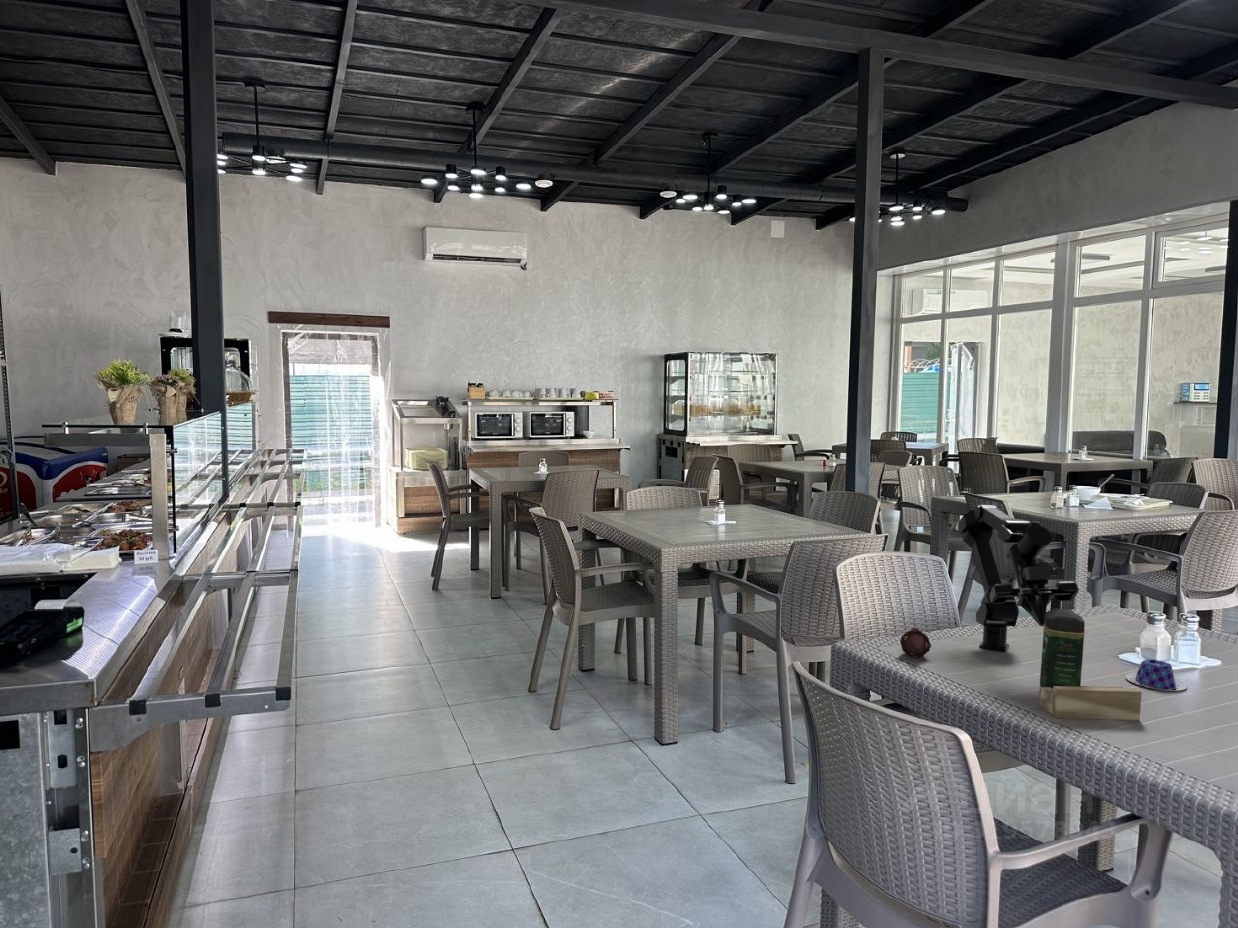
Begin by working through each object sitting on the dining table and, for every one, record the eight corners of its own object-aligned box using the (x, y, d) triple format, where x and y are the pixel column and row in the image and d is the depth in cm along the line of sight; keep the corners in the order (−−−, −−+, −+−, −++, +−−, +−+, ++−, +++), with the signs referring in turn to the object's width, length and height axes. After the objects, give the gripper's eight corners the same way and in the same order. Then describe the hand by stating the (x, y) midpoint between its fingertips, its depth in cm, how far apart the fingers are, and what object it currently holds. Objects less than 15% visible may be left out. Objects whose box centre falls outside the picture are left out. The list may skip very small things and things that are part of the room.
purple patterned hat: (1127, 672, 202) (1128, 651, 202) (1186, 682, 196) (1188, 661, 195) (1123, 686, 193) (1124, 663, 192) (1185, 697, 186) (1187, 674, 185)
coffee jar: (1083, 702, 181) (1088, 618, 179) (1042, 696, 184) (1047, 614, 182) (1075, 687, 190) (1081, 608, 188) (1037, 683, 193) (1042, 604, 191)
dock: (1039, 705, 178) (1041, 678, 178) (1119, 707, 178) (1121, 679, 178) (1056, 717, 171) (1058, 689, 171) (1139, 719, 171) (1141, 691, 171)
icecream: (937, 640, 203) (930, 629, 217) (907, 630, 205) (902, 620, 219) (929, 667, 203) (922, 654, 218) (898, 657, 205) (894, 645, 220)
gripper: (992, 552, 198) (1008, 612, 189) (1076, 548, 196) (1096, 609, 187) (983, 573, 207) (997, 632, 198) (1062, 570, 205) (1081, 629, 196)
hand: (1042, 625), depth 195 cm, fingers closed
